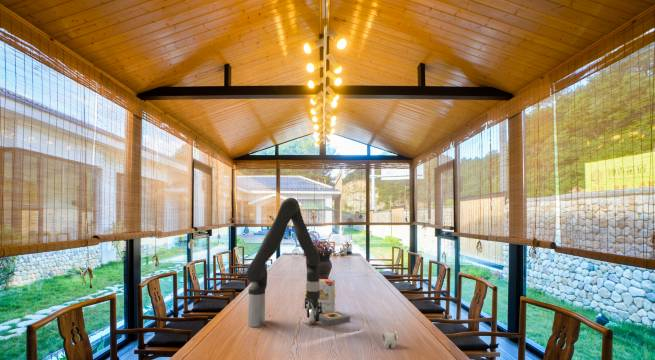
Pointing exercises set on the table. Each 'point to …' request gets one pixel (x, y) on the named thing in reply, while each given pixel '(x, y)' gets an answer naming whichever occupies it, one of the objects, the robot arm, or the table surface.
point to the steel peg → (312, 317)
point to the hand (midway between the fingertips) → (313, 319)
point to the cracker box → (327, 295)
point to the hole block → (333, 318)
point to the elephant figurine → (389, 339)
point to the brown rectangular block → (313, 326)
